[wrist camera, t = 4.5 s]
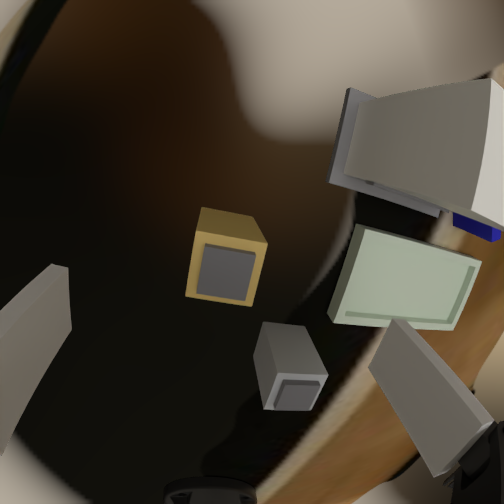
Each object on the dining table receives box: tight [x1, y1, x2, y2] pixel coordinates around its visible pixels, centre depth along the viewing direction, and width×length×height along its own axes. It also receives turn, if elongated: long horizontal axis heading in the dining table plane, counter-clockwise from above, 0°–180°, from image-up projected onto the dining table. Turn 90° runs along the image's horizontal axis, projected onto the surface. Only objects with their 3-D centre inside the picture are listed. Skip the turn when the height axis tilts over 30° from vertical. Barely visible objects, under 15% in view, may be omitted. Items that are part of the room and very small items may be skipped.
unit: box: [326, 78, 504, 232], centre depth 16 cm, size 8×12×14 cm, turn 77°
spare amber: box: [185, 207, 268, 306], centre depth 20 cm, size 4×4×8 cm
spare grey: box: [253, 322, 328, 411], centre depth 24 cm, size 4×4×8 cm
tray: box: [327, 224, 482, 330], centre depth 27 cm, size 9×17×2 cm, turn 77°
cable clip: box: [453, 212, 501, 242], centre depth 23 cm, size 12×4×6 cm, turn 103°
